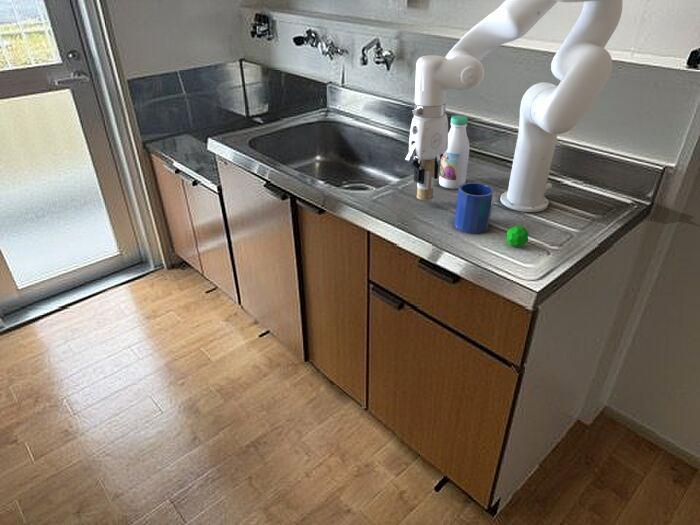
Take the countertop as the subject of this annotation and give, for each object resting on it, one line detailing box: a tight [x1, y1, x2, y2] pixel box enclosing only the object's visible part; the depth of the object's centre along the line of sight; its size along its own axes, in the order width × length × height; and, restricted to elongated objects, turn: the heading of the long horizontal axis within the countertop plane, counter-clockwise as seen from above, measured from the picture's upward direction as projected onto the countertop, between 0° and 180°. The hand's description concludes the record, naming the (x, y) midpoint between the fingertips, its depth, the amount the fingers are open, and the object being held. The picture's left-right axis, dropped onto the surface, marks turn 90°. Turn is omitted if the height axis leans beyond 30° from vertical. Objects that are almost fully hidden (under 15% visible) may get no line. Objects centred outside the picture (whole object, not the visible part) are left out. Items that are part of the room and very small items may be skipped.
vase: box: [453, 181, 495, 235], centre depth 122 cm, size 8×8×10 cm
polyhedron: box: [506, 225, 529, 248], centre depth 115 cm, size 5×5×5 cm
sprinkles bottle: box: [416, 156, 436, 202], centre depth 130 cm, size 5×5×14 cm
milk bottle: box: [438, 114, 470, 190], centre depth 142 cm, size 8×8×20 cm
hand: (425, 179), depth 130 cm, fingers closed on sprinkles bottle, 4 cm apart
